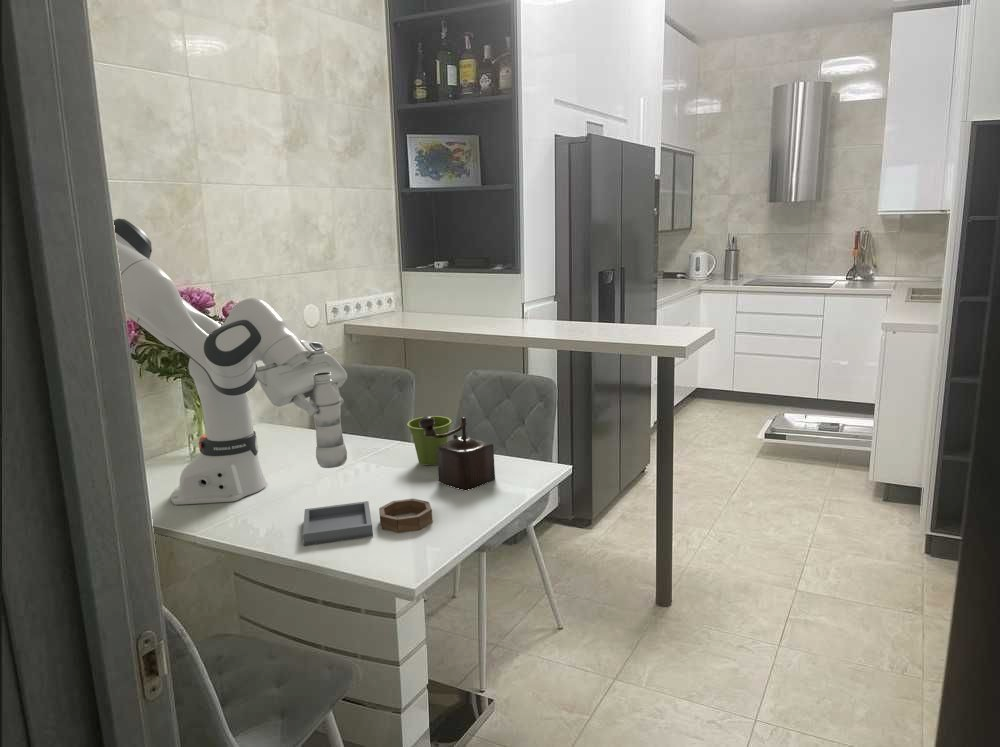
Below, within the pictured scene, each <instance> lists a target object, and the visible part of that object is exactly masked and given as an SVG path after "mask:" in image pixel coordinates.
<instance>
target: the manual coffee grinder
mask: <svg viewBox="0 0 1000 747" xmlns="http://www.w3.org/2000/svg"><path fill="white" fill-rule="evenodd" d="M422 417H423V418H422V419H421V420H420V421H419V426H420V427H421V428H422V429H424V430H425V433H424V435H425V436H431V437H435V438H443V437H447V436H448V437H450V436H452V435H453V434H454V435H453V438H454V439H450V440H449V441H447V443H446V444H444V445H440V446H437V460H438V465H437V470H438V482H439V483H441V484H442V483H443V485H444V484H446V485H445V486H447V485H449V486H448V487H450V486H452V487H451V488H453V487H455V488H454V489H456V488H459V489H458V490H460V489H463V490H462V491H464V490H467V491H469V490H468V489H471V490H473V489H476V488H478V487H480V485H481V486H483V485H485V483H486V484H488V483H490V482H492V481H494V480H496V470H495V469H496V468H495V454H494V453H495V452H494V444H493V443H489V442H486V441H483V440H480V439H474V438H472V437H470V436H468V435H467V429H466V428H467V426H468V424H467V418H466V417H465V416H462V417H461V419H460V422H461V423H460V425H459V426H457V427H456V428H455V429H452V430H449V431H448V433H445V434H441V435H438V434H435V433H436V431H435V430H434V428H433V427H434V424H435V419H434V418H433V417H430V415H425V416H422ZM461 430H462V431H461ZM459 431H461V433H462V434H461V436H459V437H458V435H456V434H455V433H457V432H459ZM448 437H447V438H448ZM487 482H488V483H487ZM482 484H483V485H482ZM477 486H478V487H477ZM475 487H476V488H475ZM472 488H473V489H472Z"/></svg>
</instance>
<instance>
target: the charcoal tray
mask: <svg viewBox="0 0 1000 747" xmlns="http://www.w3.org/2000/svg"><path fill="white" fill-rule="evenodd" d="M303 516H304V517H303V529H302V538H303V545H304V547H307V546H314V545H322V544H331V543H337V542H343V541H350V540H359V539H364V538H371V537H374V532H373V530H374V529H373V524H372V523H373V522H372V515H371V508H370V502H369V501H368V500H367V501H360V502H357V501H356V502H350V503H349V502H348V503H342V504H335V505H327V506H319V507H313V508H312V507H311V508H305V509H304V514H303Z"/></svg>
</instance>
